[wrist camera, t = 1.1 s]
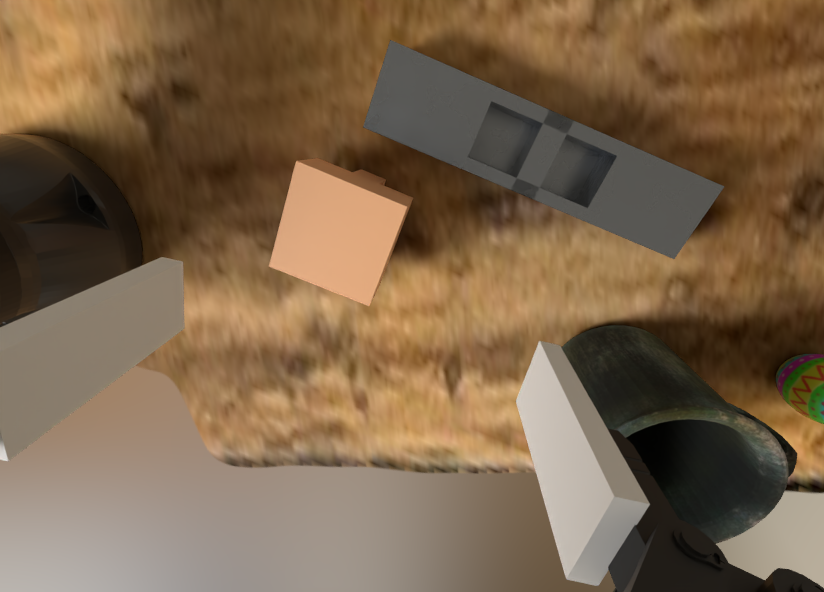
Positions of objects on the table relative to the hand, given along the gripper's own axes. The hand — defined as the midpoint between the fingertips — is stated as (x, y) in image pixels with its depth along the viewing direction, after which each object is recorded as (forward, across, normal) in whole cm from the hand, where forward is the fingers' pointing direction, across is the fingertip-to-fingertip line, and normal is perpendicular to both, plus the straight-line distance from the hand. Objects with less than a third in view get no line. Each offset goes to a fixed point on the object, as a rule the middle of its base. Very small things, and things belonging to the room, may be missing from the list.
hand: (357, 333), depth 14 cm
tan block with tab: (+18, -3, 0) cm, 18 cm away
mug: (+17, +22, -8) cm, 29 cm away
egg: (+17, +34, -4) cm, 39 cm away
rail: (+18, +8, +7) cm, 21 cm away
